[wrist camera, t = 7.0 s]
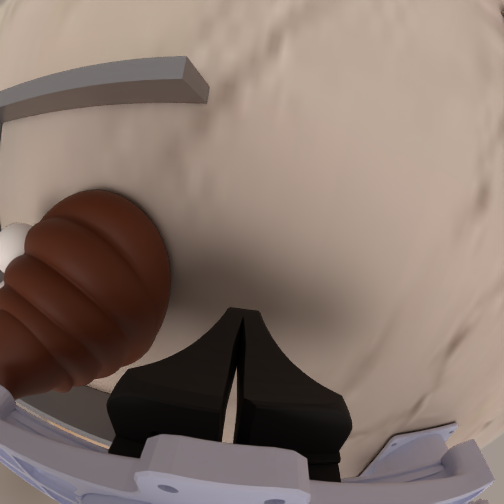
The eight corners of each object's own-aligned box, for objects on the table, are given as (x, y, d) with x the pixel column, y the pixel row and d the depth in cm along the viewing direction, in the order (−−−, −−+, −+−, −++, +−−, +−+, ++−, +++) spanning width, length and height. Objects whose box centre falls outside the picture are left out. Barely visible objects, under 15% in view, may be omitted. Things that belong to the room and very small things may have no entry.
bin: (189, 420, 17) (177, 465, 13) (28, 367, 17) (4, 394, 13) (209, 86, 11) (186, 56, 7) (-3, 112, 11) (-46, 112, 7)
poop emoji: (141, 371, 16) (83, 493, 7) (37, 302, 15) (-51, 381, 6) (208, 236, 13) (114, 381, 4) (69, 158, 12) (-85, 185, 3)
